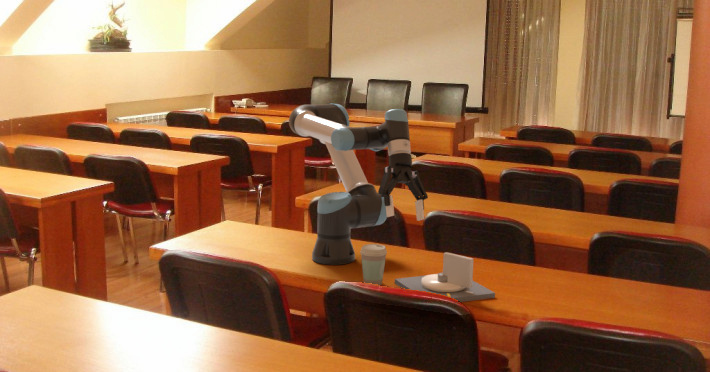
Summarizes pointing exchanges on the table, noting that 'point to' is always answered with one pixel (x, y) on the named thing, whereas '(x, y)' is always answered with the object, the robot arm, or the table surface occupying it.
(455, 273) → the dial
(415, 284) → the dial plate
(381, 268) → the coffee cup
